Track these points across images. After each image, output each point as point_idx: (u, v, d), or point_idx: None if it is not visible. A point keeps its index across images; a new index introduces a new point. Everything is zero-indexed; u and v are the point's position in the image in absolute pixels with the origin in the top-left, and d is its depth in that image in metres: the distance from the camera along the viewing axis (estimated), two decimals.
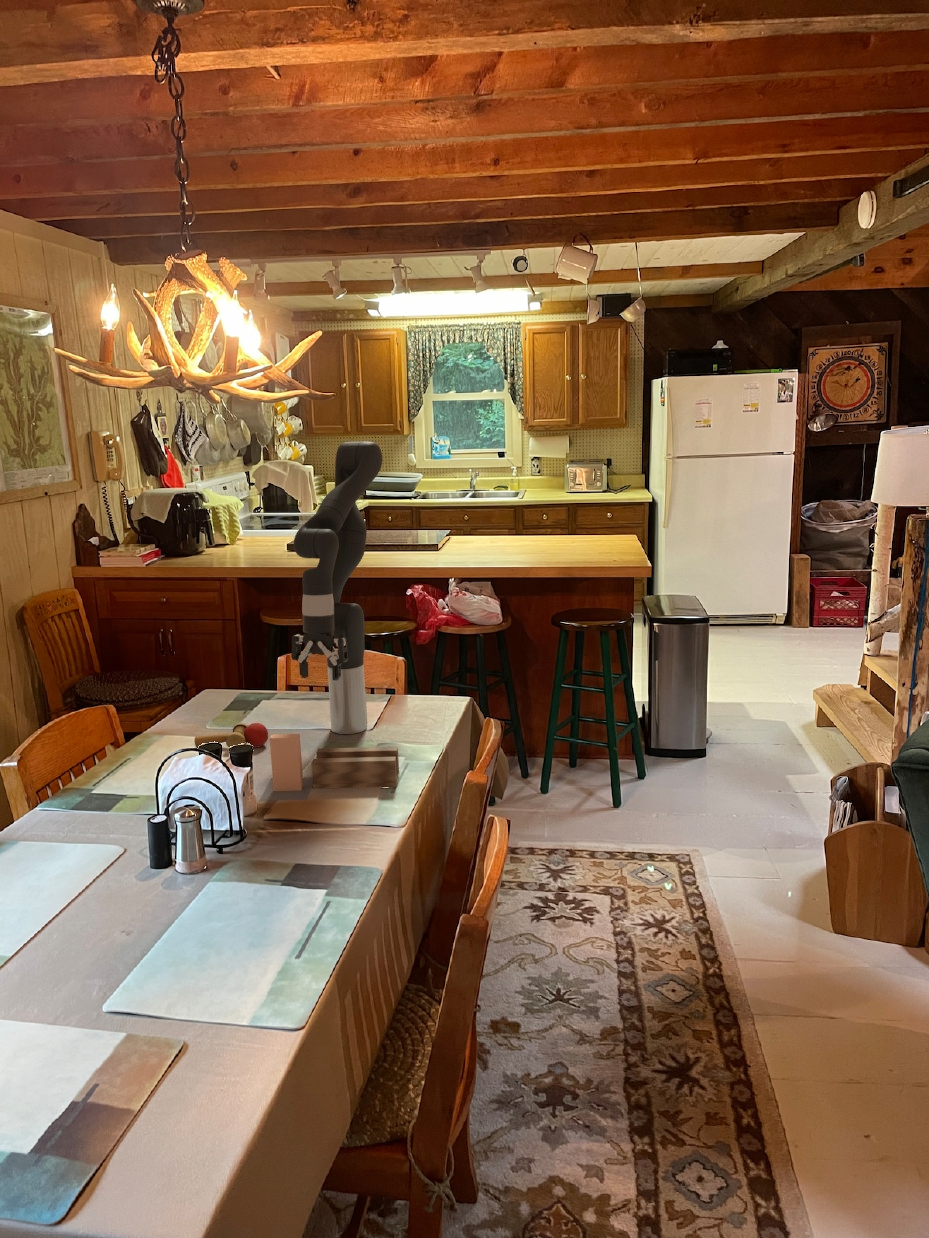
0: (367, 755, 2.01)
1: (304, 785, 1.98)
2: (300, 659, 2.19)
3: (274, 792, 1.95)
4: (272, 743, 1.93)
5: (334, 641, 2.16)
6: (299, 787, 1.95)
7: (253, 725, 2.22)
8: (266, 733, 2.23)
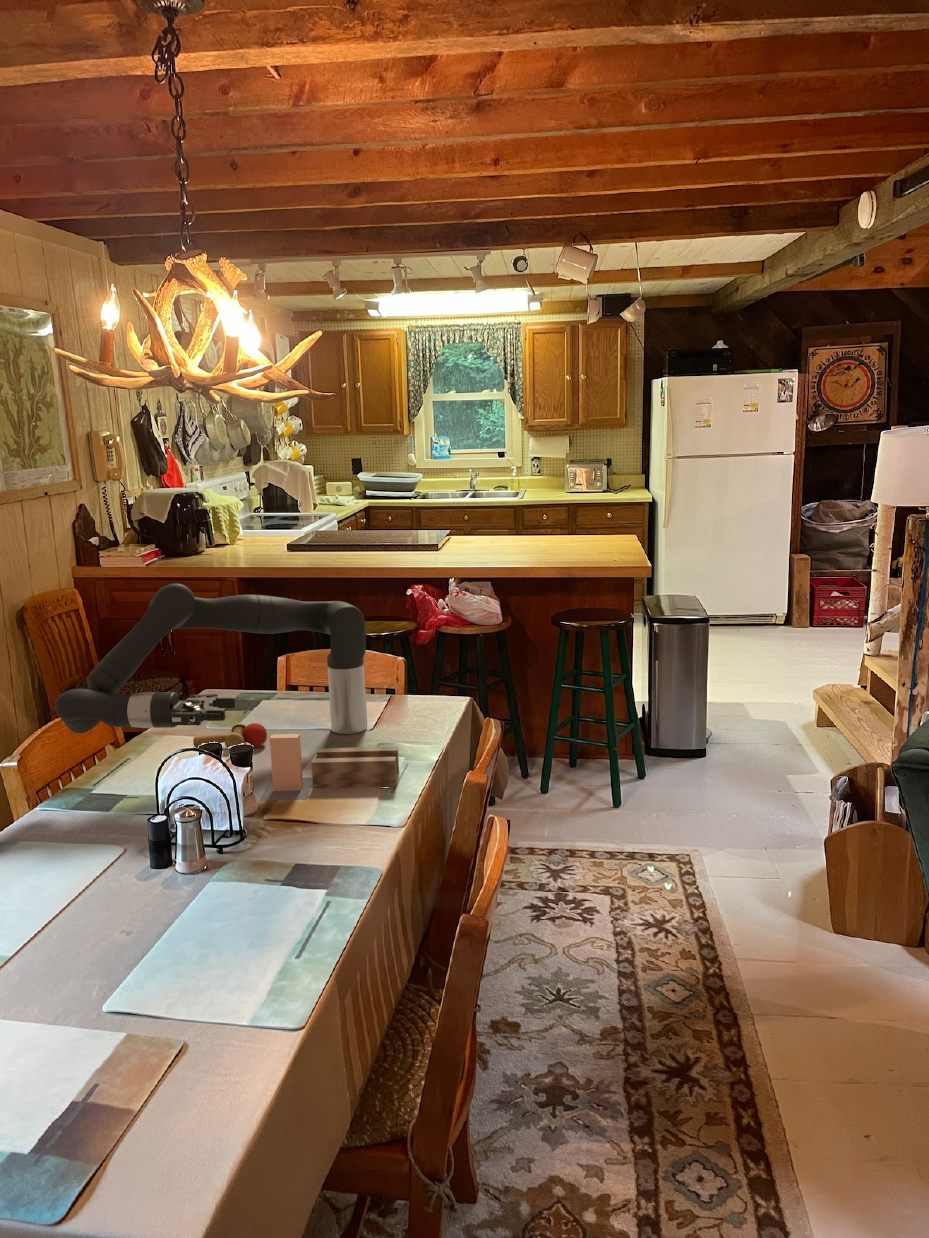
0: (367, 755, 2.01)
1: (304, 785, 1.98)
2: None
3: (274, 792, 1.95)
4: (272, 743, 1.93)
5: None
6: (299, 787, 1.95)
7: (252, 725, 2.22)
8: (265, 733, 2.23)
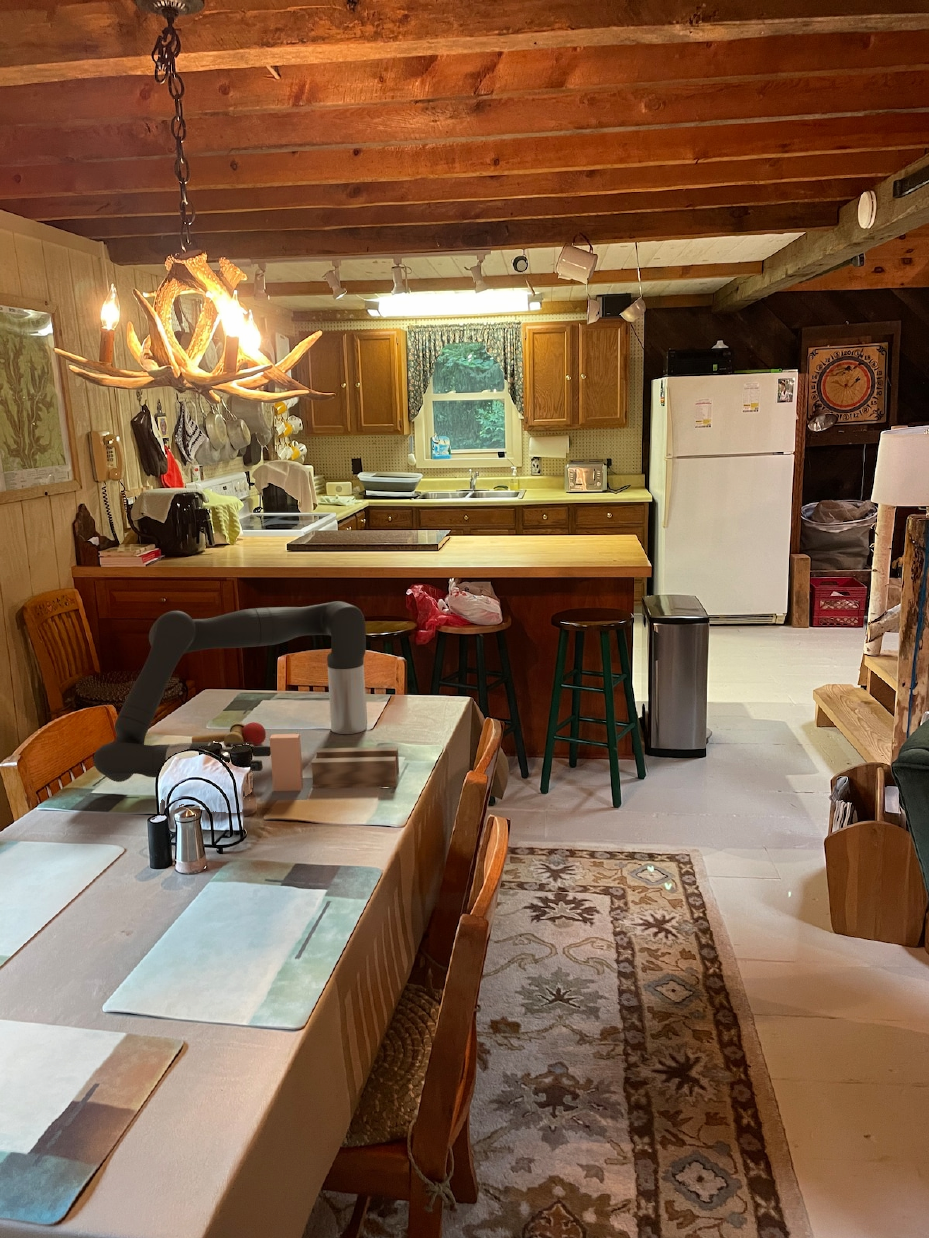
0: (367, 755, 2.01)
1: (304, 785, 1.98)
2: None
3: (274, 792, 1.95)
4: (272, 743, 1.93)
5: None
6: (299, 787, 1.95)
7: (251, 725, 2.23)
8: (264, 732, 2.24)
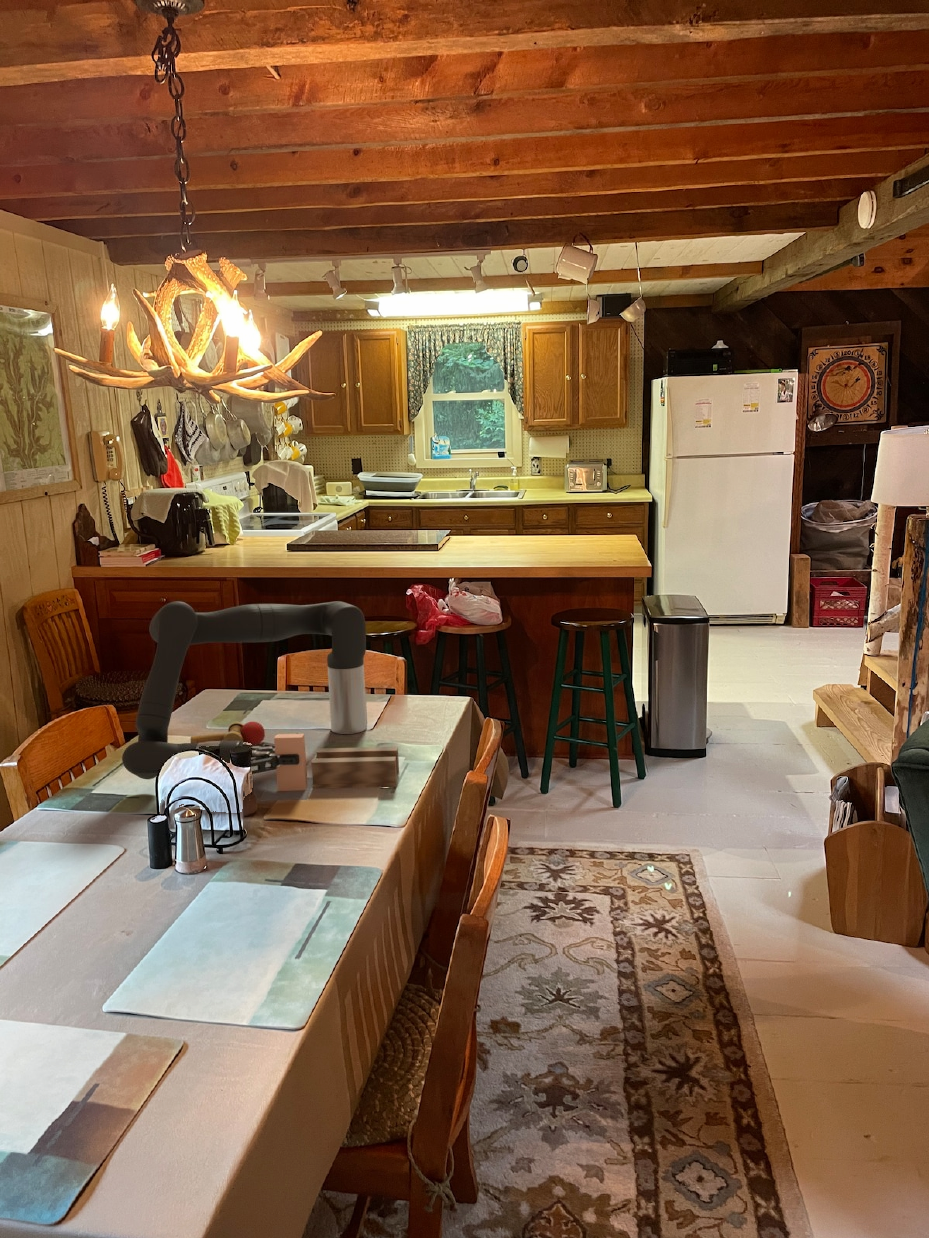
0: (367, 755, 2.01)
1: None
2: None
3: (274, 792, 1.95)
4: (276, 743, 1.93)
5: None
6: (303, 787, 1.95)
7: (250, 724, 2.24)
8: (263, 731, 2.25)
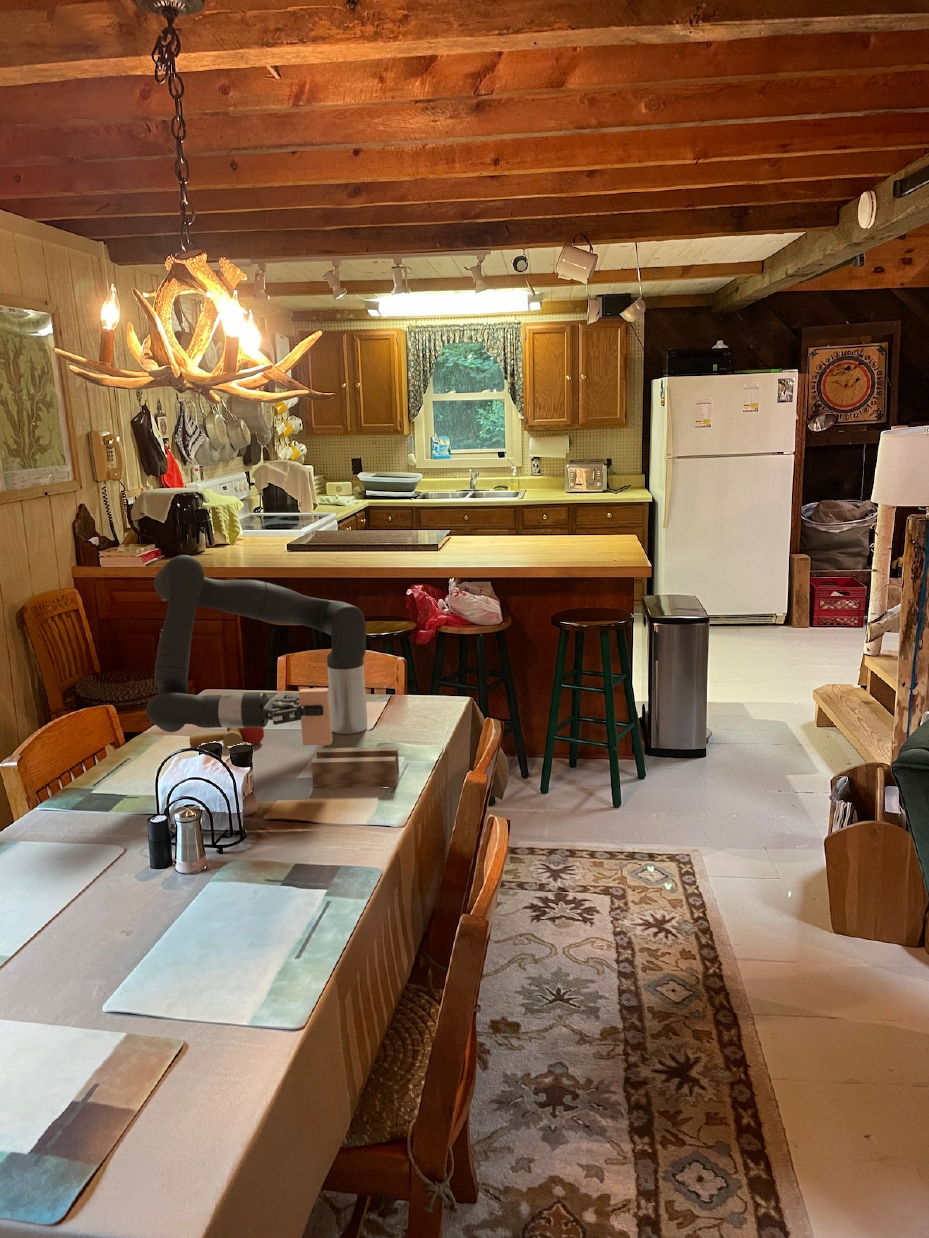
0: (367, 755, 2.01)
1: (304, 785, 1.98)
2: None
3: (274, 792, 1.95)
4: (301, 697, 1.93)
5: None
6: (328, 741, 1.95)
7: None
8: (262, 731, 2.25)
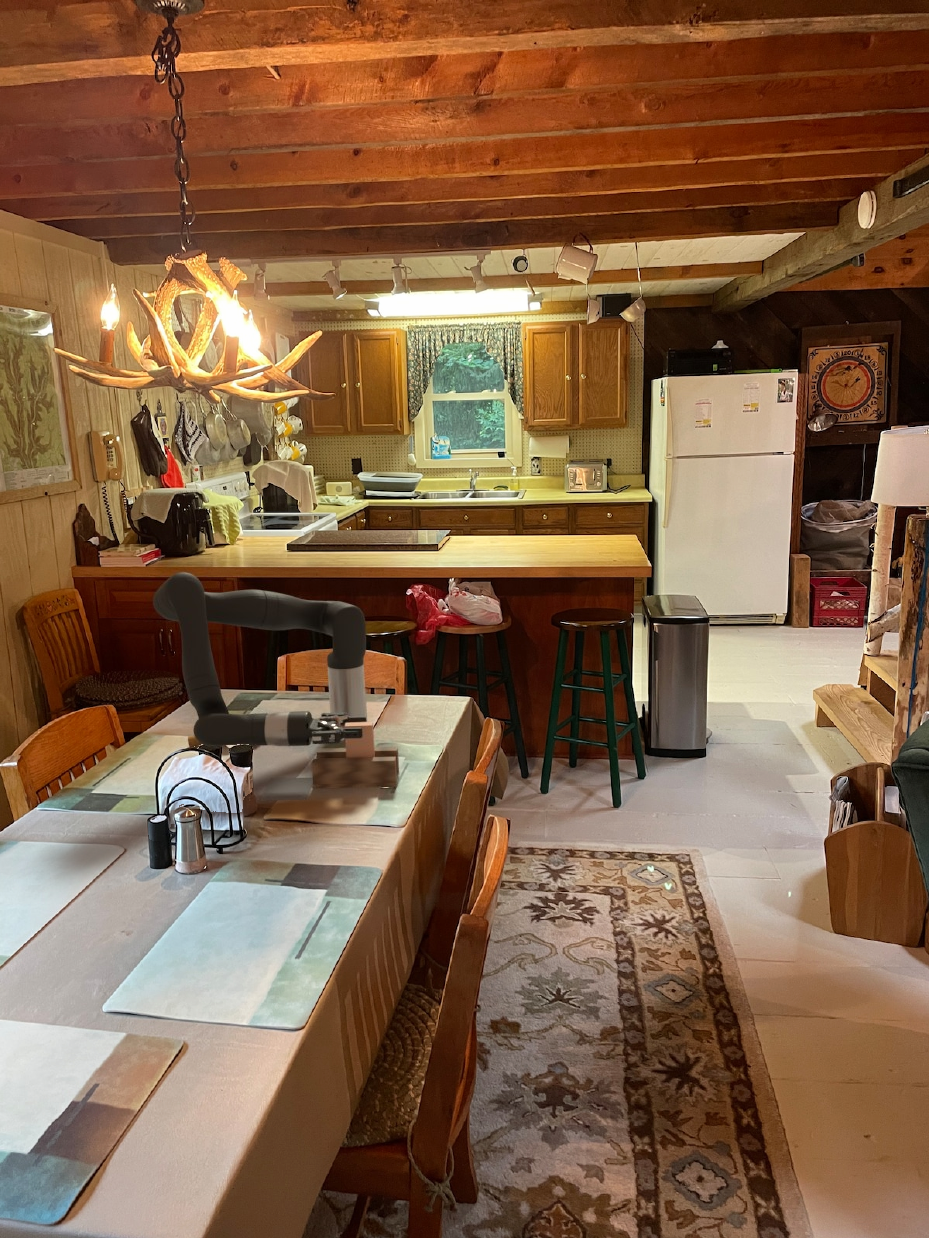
0: None
1: (304, 785, 1.98)
2: None
3: (274, 792, 1.95)
4: None
5: None
6: None
7: None
8: None
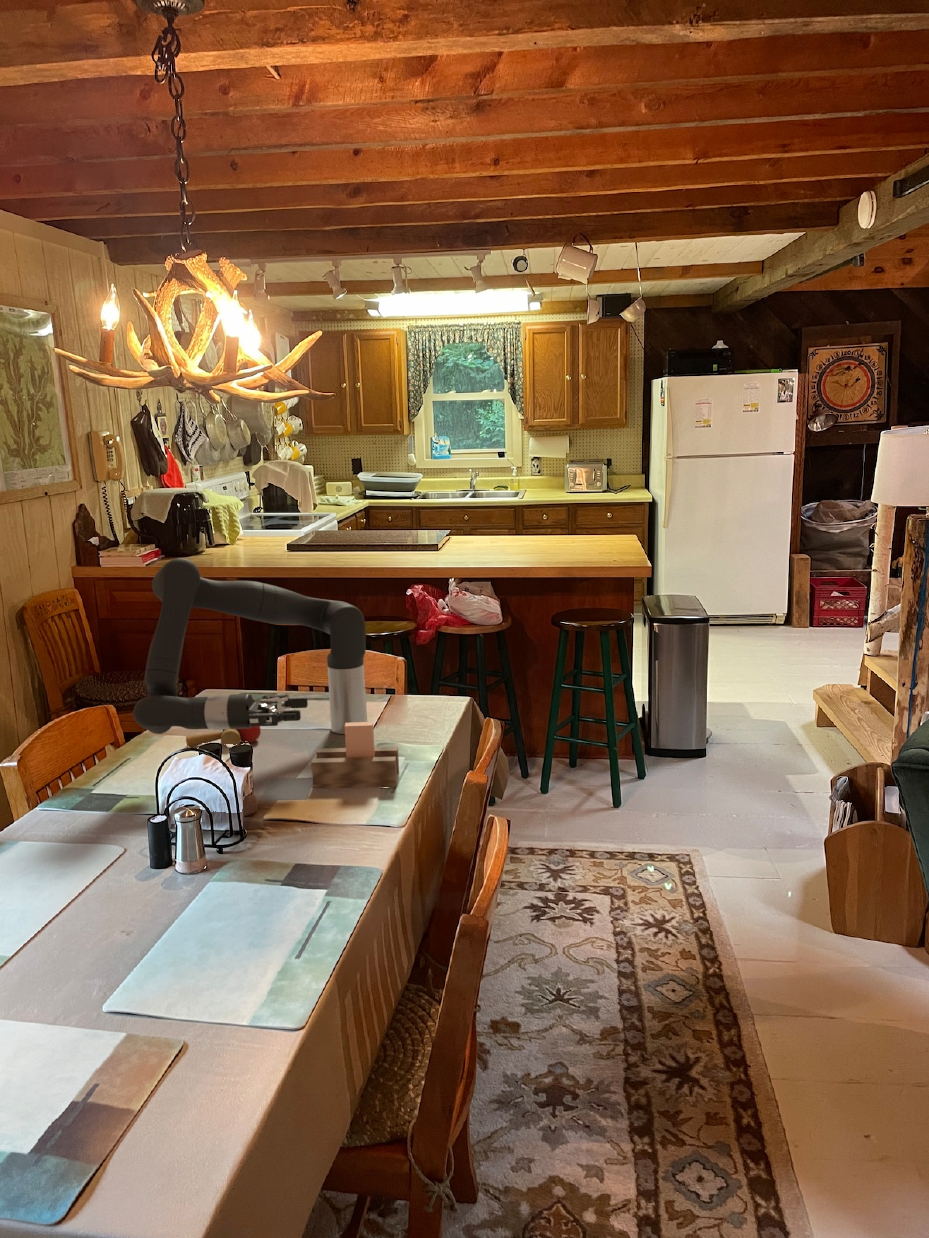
0: None
1: (304, 785, 1.98)
2: None
3: (274, 792, 1.95)
4: (347, 731, 1.97)
5: None
6: None
7: None
8: (259, 728, 2.27)
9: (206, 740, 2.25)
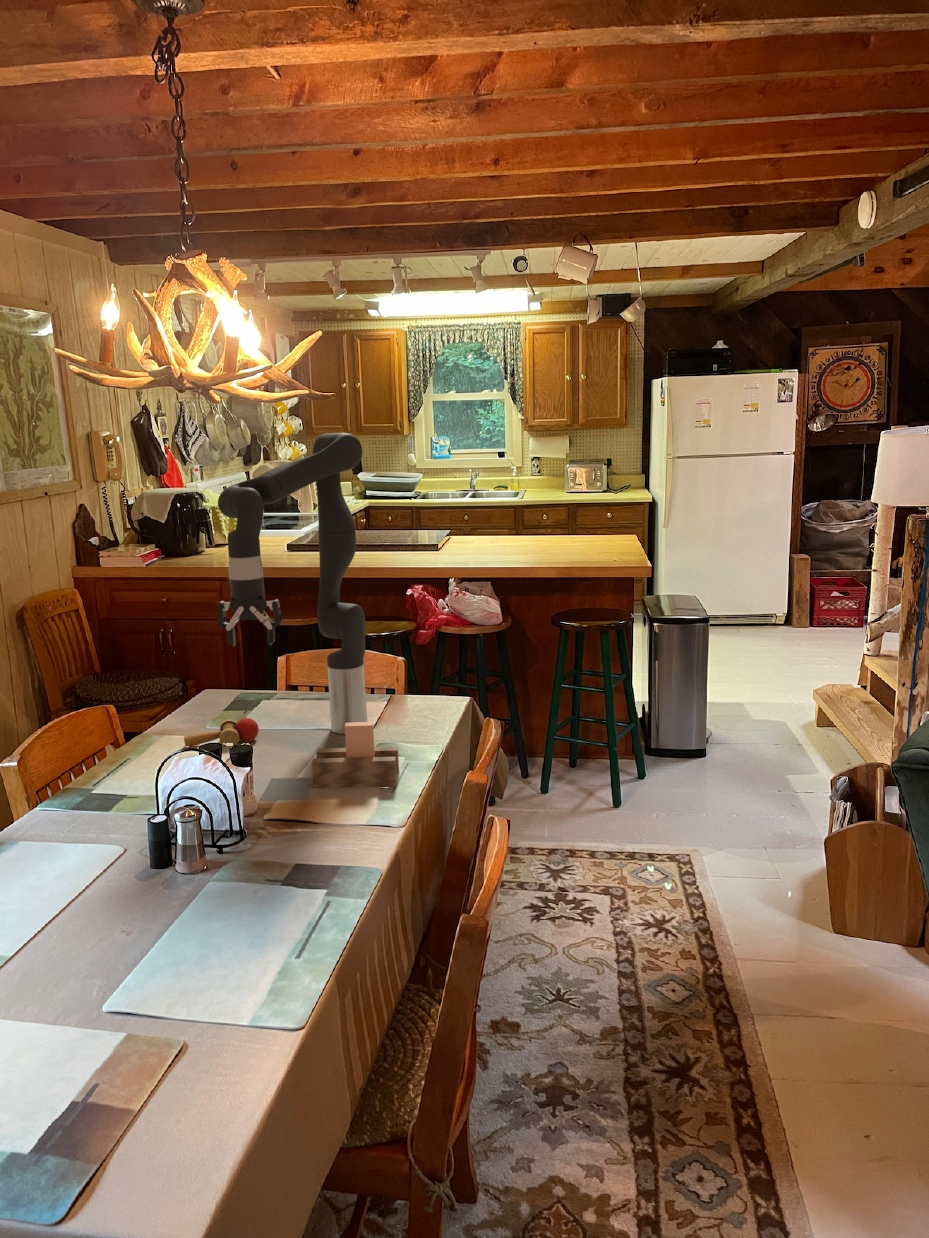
0: None
1: (304, 785, 1.98)
2: (228, 627, 2.07)
3: (274, 792, 1.95)
4: (347, 731, 1.97)
5: (267, 605, 2.06)
6: None
7: (245, 720, 2.26)
8: (257, 727, 2.28)
9: (204, 740, 2.25)
